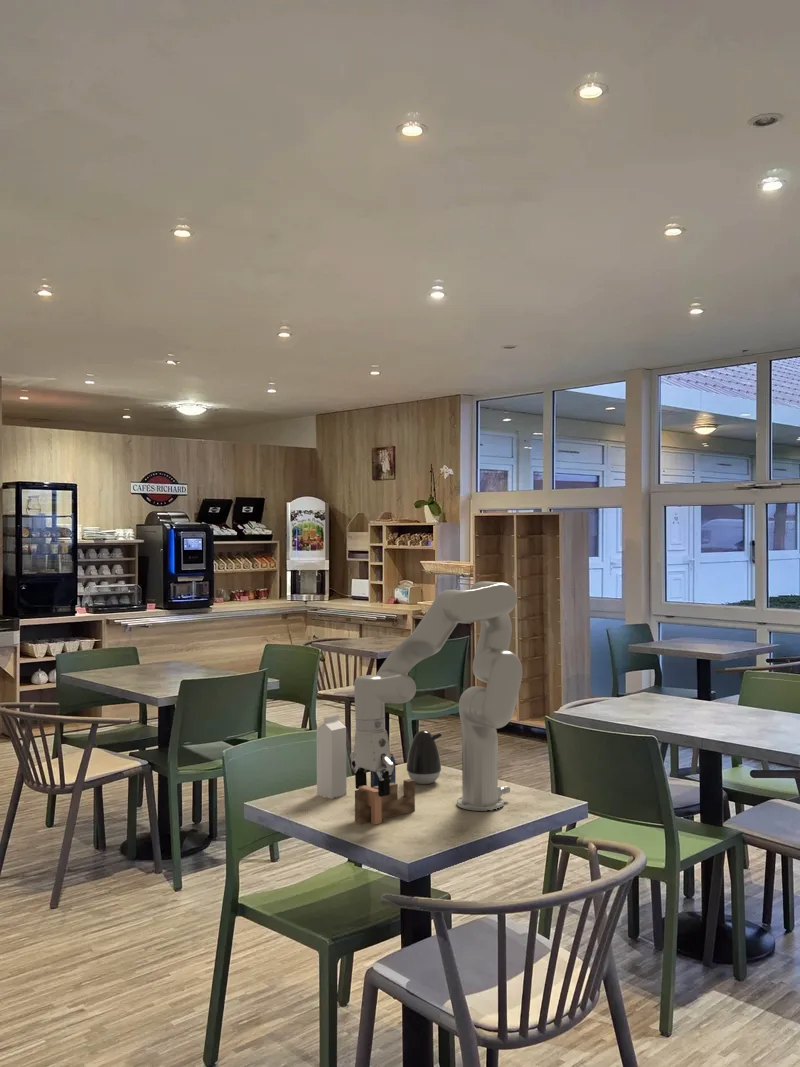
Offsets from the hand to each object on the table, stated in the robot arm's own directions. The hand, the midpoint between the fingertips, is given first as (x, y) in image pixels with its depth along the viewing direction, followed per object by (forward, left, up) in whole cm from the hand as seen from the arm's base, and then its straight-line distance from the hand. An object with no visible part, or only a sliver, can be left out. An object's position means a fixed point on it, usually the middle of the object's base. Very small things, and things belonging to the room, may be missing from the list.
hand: (372, 791), depth 232 cm
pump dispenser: (-34, -20, -7) cm, 40 cm away
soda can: (-14, -14, -7) cm, 21 cm away
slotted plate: (+1, 0, -7) cm, 7 cm away
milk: (-5, -26, -7) cm, 28 cm away
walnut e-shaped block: (-4, 0, -7) cm, 8 cm away
